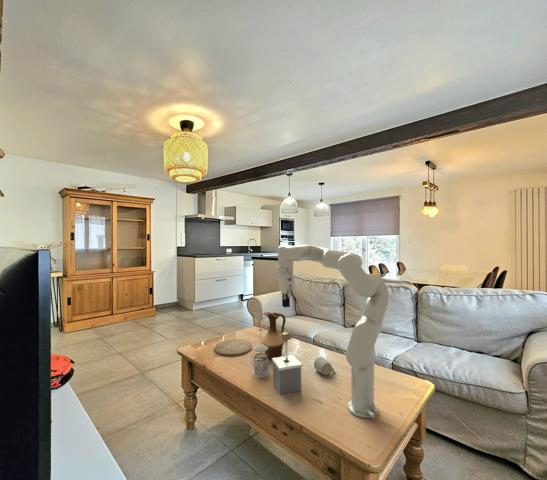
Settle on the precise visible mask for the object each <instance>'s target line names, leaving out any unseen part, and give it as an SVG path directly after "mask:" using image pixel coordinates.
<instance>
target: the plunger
mask: <svg viewBox="0 0 547 480" xmlns="http://www.w3.org/2000/svg"><path fill="white" fill-rule="evenodd" d="M280 335H281V339H283V340H285V343H284V345H285V346H284V348H285V349H284V351H285V352H284V354H285V355H284V356H285V363H287V362H288V356H289V353H288V347H289V346H288V341H290V340H291V339H292V332H290V331H284V332H282V333H281V332H280Z"/></svg>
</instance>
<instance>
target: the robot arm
mask: <svg viewBox="0 0 547 480" xmlns="http://www.w3.org/2000/svg"><path fill="white" fill-rule="evenodd" d="M305 260H306V261H312V262H317V263H320V264H321V265H322V266H323V267H325V268H329V269H333V270H338V271H339V272H340V274H341V275H342V277H343V279H344V280H346V282H347V283H348V285H349V286H350V287H351V288H352V289H353V291H354V292H355V293H356V294H357V295H358V296H360V298H367V299H366V302H365V304H364V309H363V312H362V314H361V317H360V319H359V320H358V321H357V323H355V325H354V326H353V329H352V333H351V334H350V338H349V342H348V344H347V347H346V348H347V349H346V352H345V358H346V361H347V363H348V364H349V366H350V367H351V369H350V370H351V371H350V373H351V374H350V375H351V377H350V379H351V380H350V381H351V382H350V383H351V384H350V387H351V388H350V390H351V391H350V392H351V393H350V394H351V397H350V398H351V399H350V400H349V401H347V409H348V411H349V412H350V413H351V414H353V415H354V416H355V417H358V418H363V419H370V418H371V419H375V418H376V416H378V414H379V411H378V406H377V405H376V404H375V387H374V385H375V359H376V358H375V356H376V350H375V349H376V348H375V345H376V343H377V339H378V337H379V336H380V333H381V330H382V325H383V321H384V318H385V314H386V312H387V308H388V305H389V295H390V294H389V290H388V287H387V285H386V283H385V281H384V280H383V279H382V278H381V277H380V276H379V275H377V274H374V273H366V271H365V270H364V269H363V267H362V266H363V260H362V257H361V256H360V255H359V254H357V253H353V252H347V251H343V250H342V251H341V250H335V249H331V248H324V247H321V246H315V245H311V244H299V245H289V244H287V245H285V244H284V245H279V246H278V248H277V268H278V269H277V273H278V289H279V290H278V291H280V293H281V300H282V301H281V302H282V303H281V304H282V305H281V306H282V307H284V308H289V307H291V305H290V304H291V303H290V302H291V297H292V294H295V281H294V262H301V261H305Z"/></svg>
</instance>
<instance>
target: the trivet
mask: <svg viewBox="0 0 547 480" xmlns="http://www.w3.org/2000/svg"><path fill="white" fill-rule="evenodd" d="M213 348H214V350H213V351H214V353H215V354H217V355H219V356H222V355H223V357H238V356H243V355H245V354H247V353H249V352H251V350H252V343H251V342H250V341H248V340H245V339H240V338H239V339H238V338H233V339H225V340H222V341H220V342H216V344H215V345H214V347H213Z"/></svg>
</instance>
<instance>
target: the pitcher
mask: <svg viewBox="0 0 547 480" xmlns="http://www.w3.org/2000/svg"><path fill="white" fill-rule="evenodd" d="M261 315H263V316H266V317H267V318H268V322H269V326H268V327H269V328H268V331H267V333H266V334H265V335H264V336H263V337H260V339H259V342H260V344H261V345H265V346H267V347H268V350H267V351H264V353H265V354H267V357H268V360H271V361H272V358H276V357H282V356H283V347H284V345H285V340H283V339H281V333H282V332H285V331H284V330H285V324H286V322H287V321H286V320H287V319H286V316H285V314H284V313H282V312H275V311H273V312H270V311H267V312H262V314H261ZM279 317H282V324H281V329H280V330H281V331H280V332H279V331H278V329H277V320H278V318H279Z"/></svg>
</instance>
